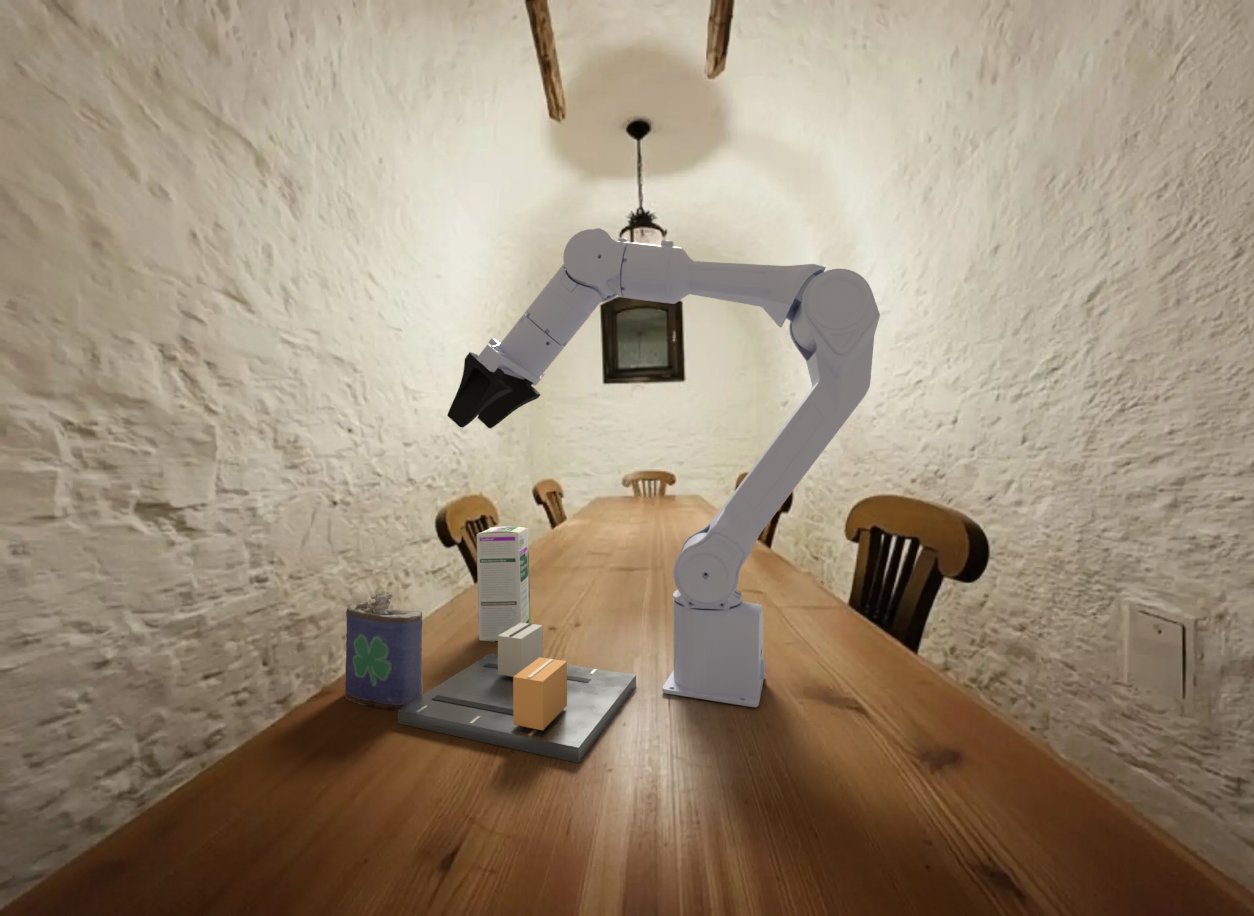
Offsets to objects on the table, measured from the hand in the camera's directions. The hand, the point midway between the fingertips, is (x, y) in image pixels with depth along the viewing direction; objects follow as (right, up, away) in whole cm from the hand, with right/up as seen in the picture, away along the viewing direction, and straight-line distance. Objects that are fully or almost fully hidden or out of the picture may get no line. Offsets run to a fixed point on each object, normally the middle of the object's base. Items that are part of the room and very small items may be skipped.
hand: (470, 422), depth 58 cm
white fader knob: (+7, -27, -4) cm, 28 cm away
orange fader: (+11, -26, -14) cm, 32 cm away
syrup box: (+1, -28, +10) cm, 30 cm away
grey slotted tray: (+8, -28, -9) cm, 31 cm away
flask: (-6, -28, -8) cm, 30 cm away
